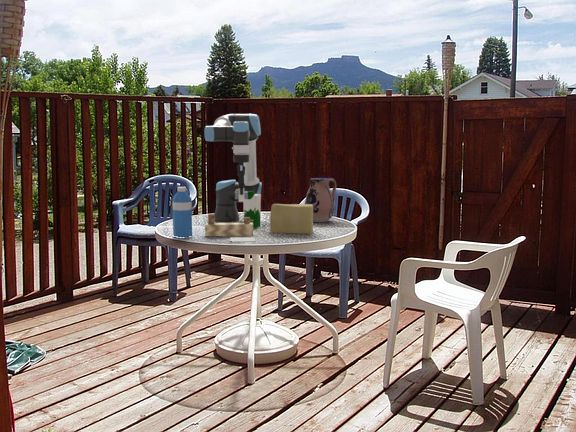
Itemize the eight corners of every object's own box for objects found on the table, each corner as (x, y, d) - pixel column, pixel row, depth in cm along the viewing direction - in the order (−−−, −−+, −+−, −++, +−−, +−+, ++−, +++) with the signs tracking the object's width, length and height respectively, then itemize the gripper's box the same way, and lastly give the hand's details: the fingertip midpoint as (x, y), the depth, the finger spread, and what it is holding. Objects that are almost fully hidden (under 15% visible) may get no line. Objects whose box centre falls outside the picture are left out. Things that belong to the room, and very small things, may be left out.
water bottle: (174, 235, 318) (173, 186, 314) (192, 235, 319) (191, 186, 315) (172, 238, 309) (171, 188, 305) (191, 238, 309) (190, 188, 306)
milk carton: (241, 227, 342) (241, 191, 339) (248, 225, 350) (247, 189, 348) (256, 228, 339) (256, 191, 336) (262, 226, 348) (262, 190, 345)
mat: (230, 242, 299) (230, 241, 299) (230, 237, 311) (230, 237, 311) (255, 242, 301) (255, 241, 300) (254, 237, 312) (254, 236, 312)
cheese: (269, 233, 323) (268, 205, 321) (271, 230, 333) (271, 202, 331) (311, 234, 321) (312, 205, 319) (313, 231, 331) (313, 203, 329)
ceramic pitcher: (297, 221, 365) (298, 178, 361) (321, 217, 380) (321, 176, 377) (321, 224, 353) (321, 180, 350) (344, 220, 368) (344, 178, 365)
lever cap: (235, 199, 298) (235, 190, 298) (235, 197, 308) (235, 188, 307) (247, 199, 299) (247, 190, 298) (247, 196, 308) (247, 188, 308)
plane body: (205, 236, 314) (204, 215, 313) (205, 234, 320) (205, 213, 319) (253, 236, 317) (253, 214, 315) (252, 234, 322) (252, 212, 321)
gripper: (233, 153, 311) (233, 197, 314) (233, 155, 289) (233, 203, 292) (248, 153, 312) (248, 197, 315) (249, 155, 290) (249, 202, 293)
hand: (241, 200), depth 303 cm, fingers closed on lever cap, 10 cm apart
